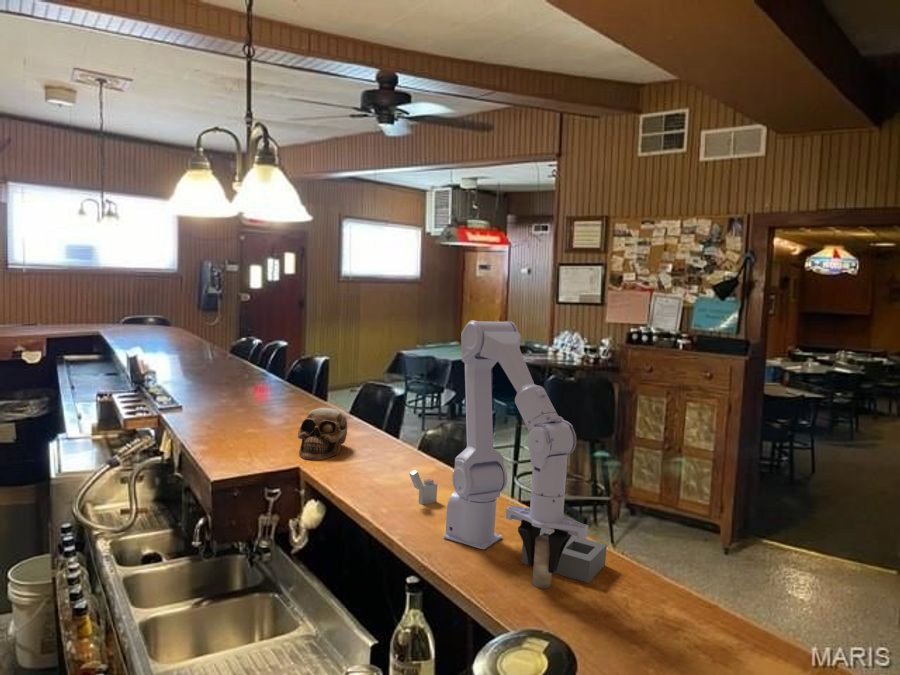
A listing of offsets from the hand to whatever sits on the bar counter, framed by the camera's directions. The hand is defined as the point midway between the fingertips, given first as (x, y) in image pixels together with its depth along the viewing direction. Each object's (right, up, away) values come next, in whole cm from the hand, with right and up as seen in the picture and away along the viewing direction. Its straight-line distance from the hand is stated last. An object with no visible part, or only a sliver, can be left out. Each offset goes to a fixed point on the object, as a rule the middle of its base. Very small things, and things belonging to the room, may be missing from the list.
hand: (542, 567), depth 112 cm
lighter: (-22, +2, +37) cm, 43 cm away
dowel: (0, -3, 0) cm, 3 cm away
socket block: (+5, -2, +9) cm, 10 cm away
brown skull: (-53, +7, +75) cm, 92 cm away
